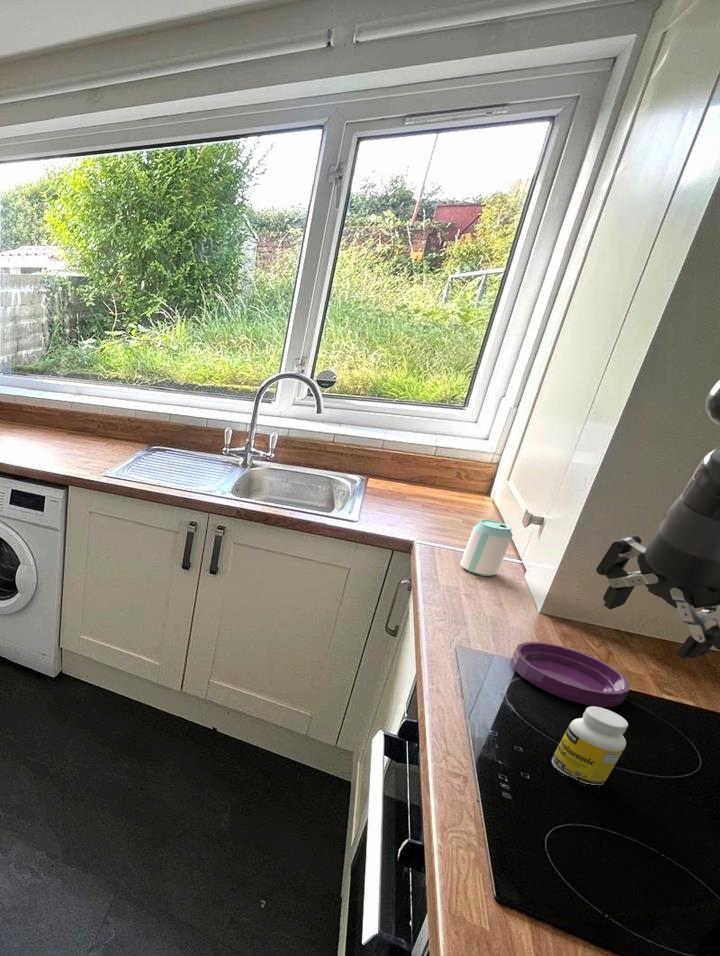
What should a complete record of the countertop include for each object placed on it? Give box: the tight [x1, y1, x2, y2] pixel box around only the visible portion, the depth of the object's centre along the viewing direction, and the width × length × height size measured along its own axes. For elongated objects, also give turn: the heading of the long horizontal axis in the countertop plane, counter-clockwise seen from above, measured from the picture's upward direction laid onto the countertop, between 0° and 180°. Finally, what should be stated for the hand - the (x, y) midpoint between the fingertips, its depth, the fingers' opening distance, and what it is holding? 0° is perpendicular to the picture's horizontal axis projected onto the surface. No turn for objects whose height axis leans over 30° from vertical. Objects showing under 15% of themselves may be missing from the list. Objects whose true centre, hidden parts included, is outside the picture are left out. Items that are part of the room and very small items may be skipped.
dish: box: [509, 641, 631, 708], centre depth 98 cm, size 14×14×3 cm
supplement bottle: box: [551, 705, 629, 786], centre depth 78 cm, size 5×5×10 cm
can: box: [459, 519, 513, 577], centre depth 136 cm, size 7×7×12 cm
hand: (647, 628), depth 73 cm, fingers open, 8 cm apart
